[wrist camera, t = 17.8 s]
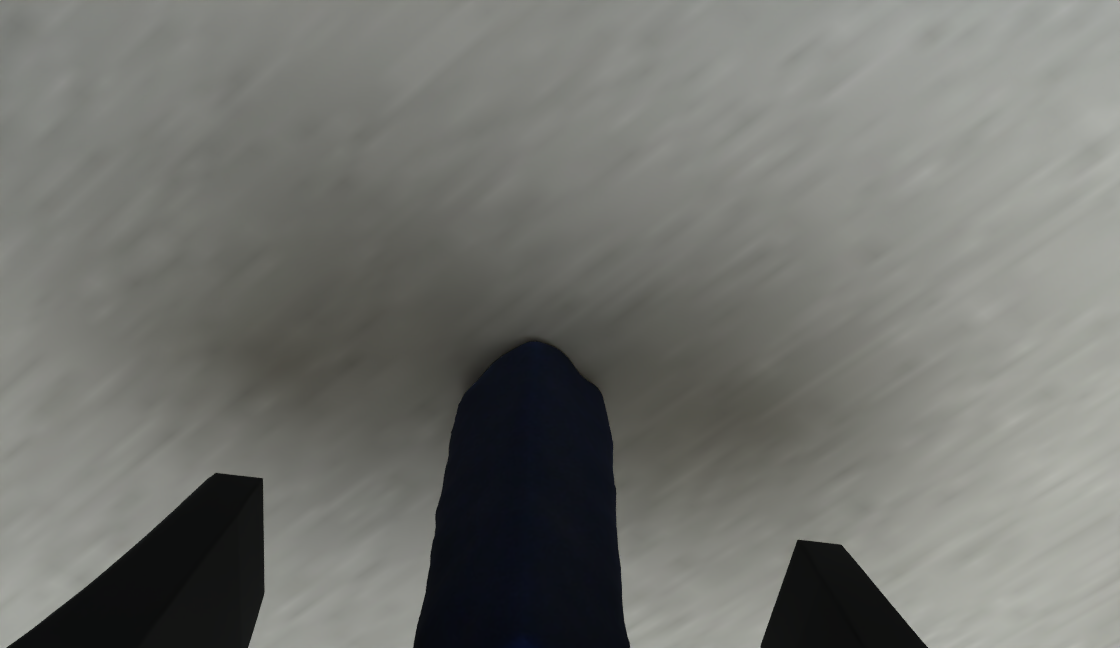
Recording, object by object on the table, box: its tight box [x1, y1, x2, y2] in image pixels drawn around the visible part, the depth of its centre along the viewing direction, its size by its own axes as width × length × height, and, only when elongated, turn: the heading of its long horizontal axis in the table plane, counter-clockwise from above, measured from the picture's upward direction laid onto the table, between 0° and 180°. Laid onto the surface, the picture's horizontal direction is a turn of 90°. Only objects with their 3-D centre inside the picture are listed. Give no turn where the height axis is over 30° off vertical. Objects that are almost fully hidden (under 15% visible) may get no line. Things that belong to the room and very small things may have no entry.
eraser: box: [413, 341, 630, 648], centre depth 13 cm, size 2×2×7 cm
